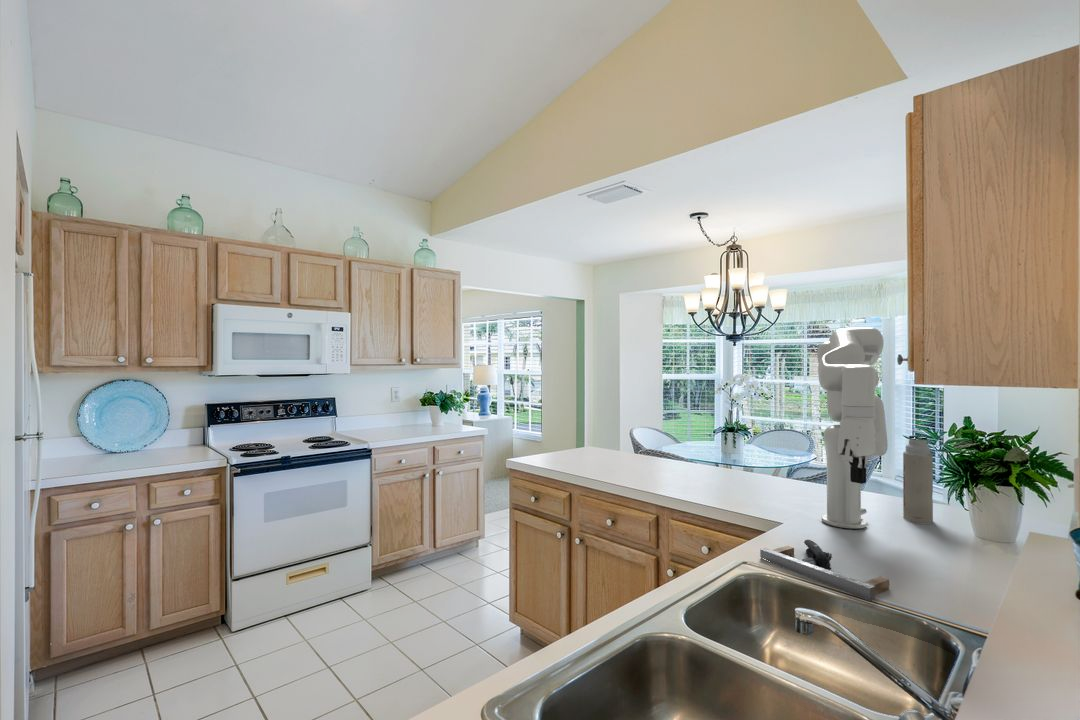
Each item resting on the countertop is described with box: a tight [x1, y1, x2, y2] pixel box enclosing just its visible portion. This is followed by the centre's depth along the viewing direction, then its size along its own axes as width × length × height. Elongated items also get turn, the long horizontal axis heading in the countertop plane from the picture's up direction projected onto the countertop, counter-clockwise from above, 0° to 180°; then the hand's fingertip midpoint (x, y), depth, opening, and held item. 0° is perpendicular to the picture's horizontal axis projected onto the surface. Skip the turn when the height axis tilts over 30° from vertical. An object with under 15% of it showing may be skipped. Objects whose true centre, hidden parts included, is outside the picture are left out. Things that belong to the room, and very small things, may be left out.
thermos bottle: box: [902, 435, 934, 525], centre depth 176 cm, size 8×8×28 cm
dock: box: [759, 545, 890, 602], centre depth 132 cm, size 10×28×3 cm, turn 30°
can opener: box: [801, 539, 833, 571], centre depth 140 cm, size 18×7×6 cm, turn 161°
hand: (858, 482), depth 140 cm, fingers closed
